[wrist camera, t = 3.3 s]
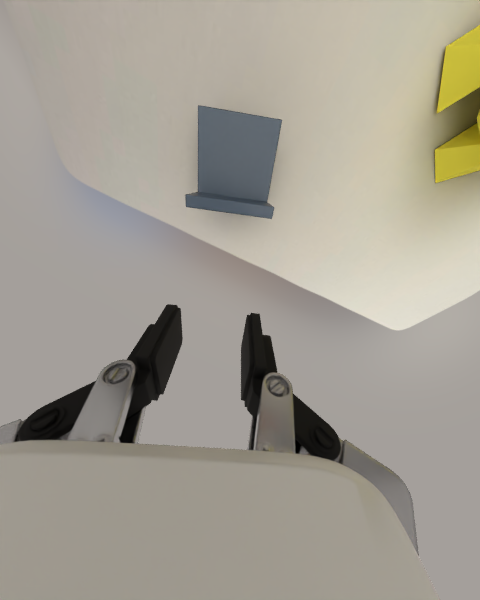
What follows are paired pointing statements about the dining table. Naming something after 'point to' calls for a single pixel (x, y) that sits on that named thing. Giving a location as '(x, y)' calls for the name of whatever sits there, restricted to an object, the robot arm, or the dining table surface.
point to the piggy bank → (455, 85)
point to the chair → (235, 162)
